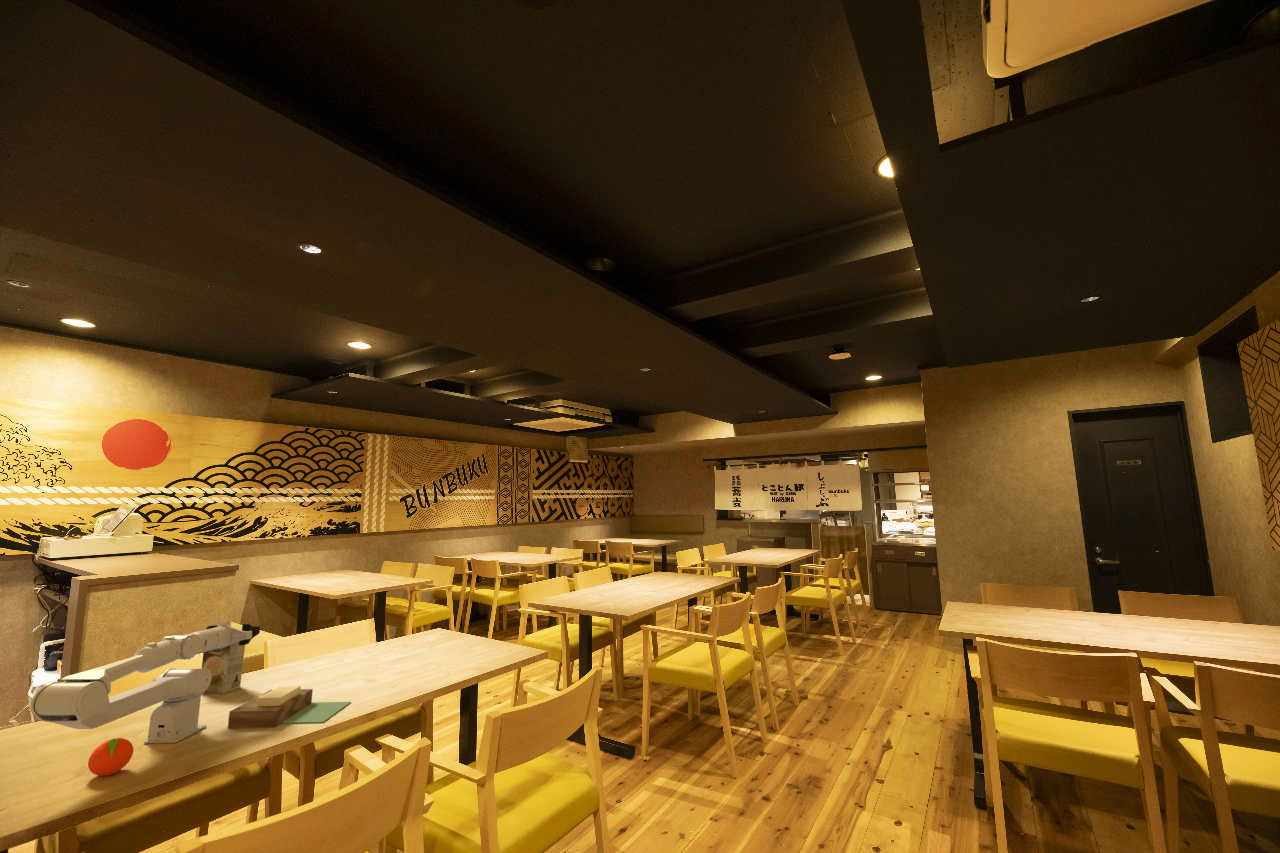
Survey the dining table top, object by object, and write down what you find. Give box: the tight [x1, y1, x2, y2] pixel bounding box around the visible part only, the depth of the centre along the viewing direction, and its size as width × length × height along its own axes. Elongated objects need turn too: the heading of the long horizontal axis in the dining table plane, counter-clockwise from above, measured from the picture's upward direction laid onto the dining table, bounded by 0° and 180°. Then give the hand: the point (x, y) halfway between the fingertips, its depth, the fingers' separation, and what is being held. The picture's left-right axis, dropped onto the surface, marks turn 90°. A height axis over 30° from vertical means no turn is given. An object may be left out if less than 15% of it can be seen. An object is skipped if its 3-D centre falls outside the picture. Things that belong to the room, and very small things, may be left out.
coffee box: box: [201, 642, 246, 695], centre depth 163 cm, size 9×6×16 cm
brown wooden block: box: [227, 688, 314, 729], centre depth 142 cm, size 16×12×4 cm
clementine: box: [87, 737, 134, 777], centre depth 112 cm, size 8×7×7 cm
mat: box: [280, 701, 352, 725], centre depth 144 cm, size 14×11×1 cm
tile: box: [257, 685, 302, 706], centre depth 143 cm, size 9×6×2 cm, turn 2°
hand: (245, 630), depth 153 cm, fingers open, 7 cm apart
